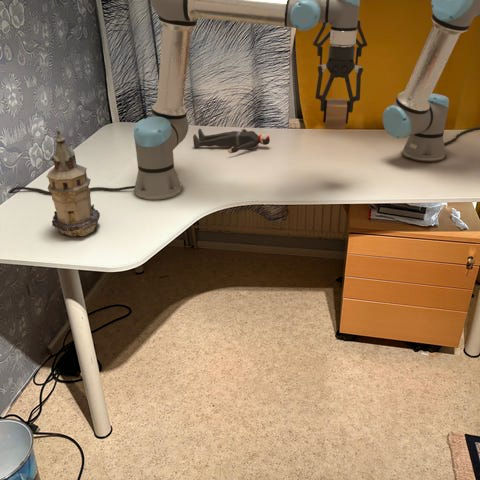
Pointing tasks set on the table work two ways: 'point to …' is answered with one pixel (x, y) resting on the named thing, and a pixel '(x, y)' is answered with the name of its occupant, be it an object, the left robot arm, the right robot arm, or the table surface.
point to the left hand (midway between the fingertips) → (335, 121)
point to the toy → (231, 140)
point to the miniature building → (70, 193)
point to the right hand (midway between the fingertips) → (338, 65)
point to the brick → (336, 114)
